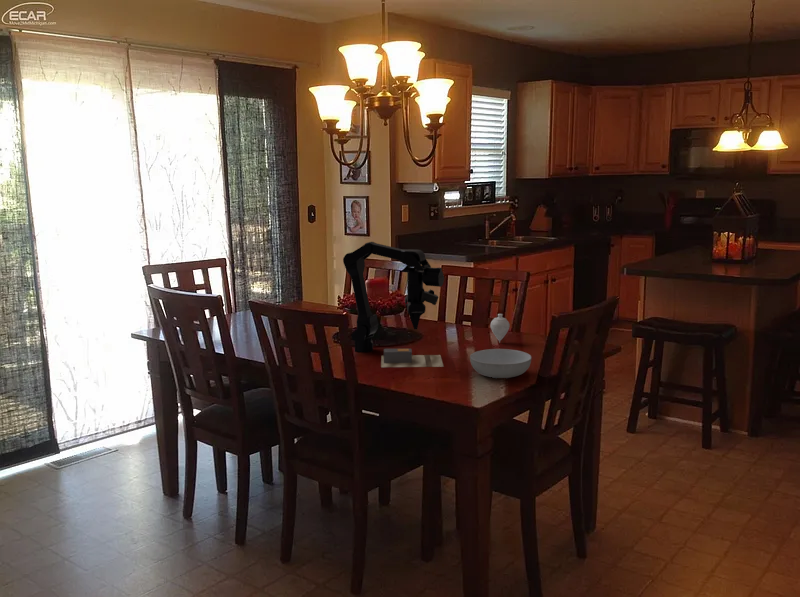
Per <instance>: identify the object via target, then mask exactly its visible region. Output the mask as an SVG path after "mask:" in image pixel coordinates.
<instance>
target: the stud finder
mask: <svg viewBox="0 0 800 597" xmlns="http://www.w3.org/2000/svg"><path fill="white" fill-rule="evenodd" d="M412 353H413V351H412V348H383V356H384V363H412V355H413V354H412Z"/></svg>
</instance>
